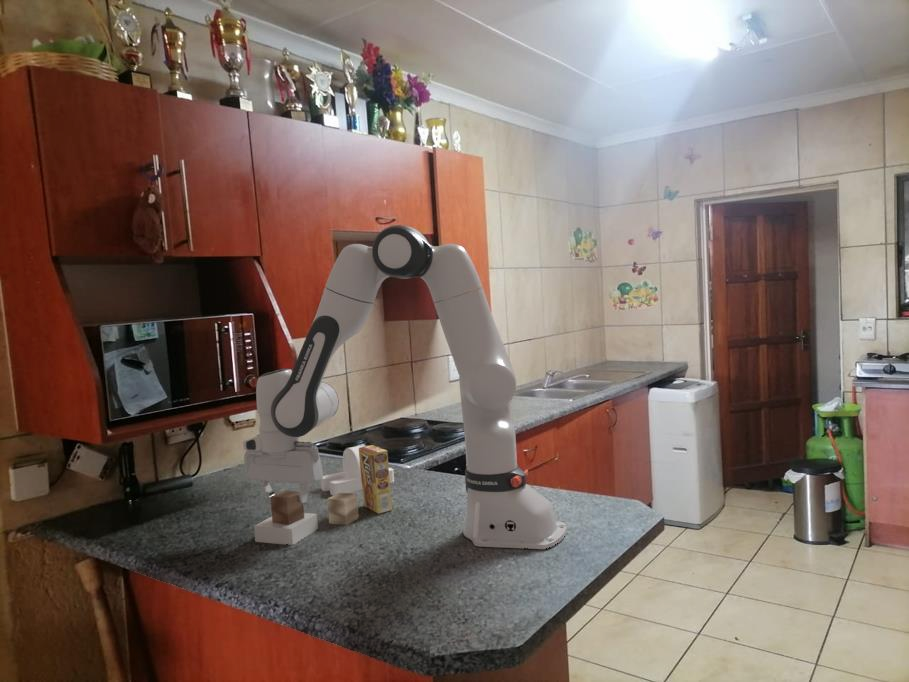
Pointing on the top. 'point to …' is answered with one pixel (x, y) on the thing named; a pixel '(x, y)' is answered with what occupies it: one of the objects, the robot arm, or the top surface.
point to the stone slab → (285, 530)
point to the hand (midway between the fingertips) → (286, 500)
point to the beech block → (342, 508)
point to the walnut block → (286, 508)
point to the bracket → (347, 475)
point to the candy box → (375, 478)
